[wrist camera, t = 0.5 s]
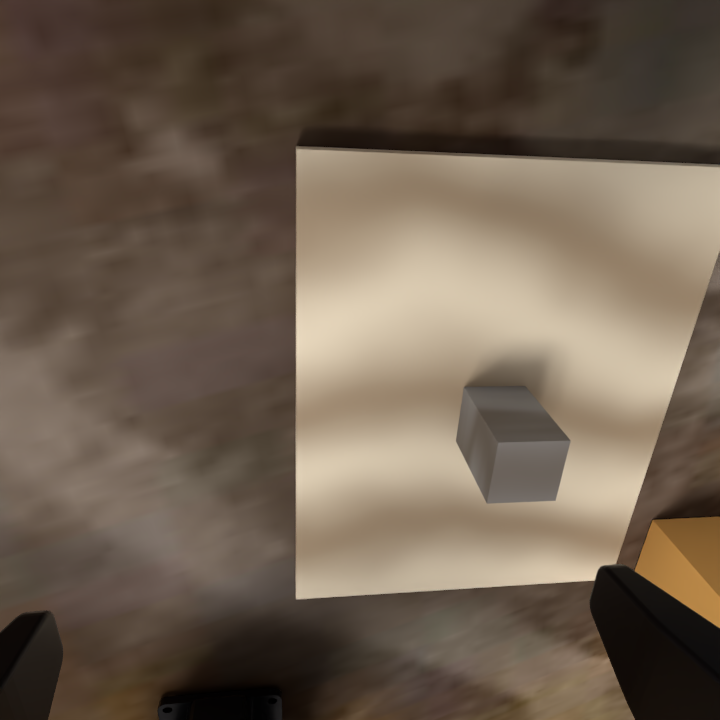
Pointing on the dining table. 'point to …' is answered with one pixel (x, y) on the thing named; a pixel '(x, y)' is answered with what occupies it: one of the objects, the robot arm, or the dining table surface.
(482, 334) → the board
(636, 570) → the block
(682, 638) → the robot arm
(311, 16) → the dining table surface
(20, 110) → the dining table surface
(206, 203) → the dining table surface
